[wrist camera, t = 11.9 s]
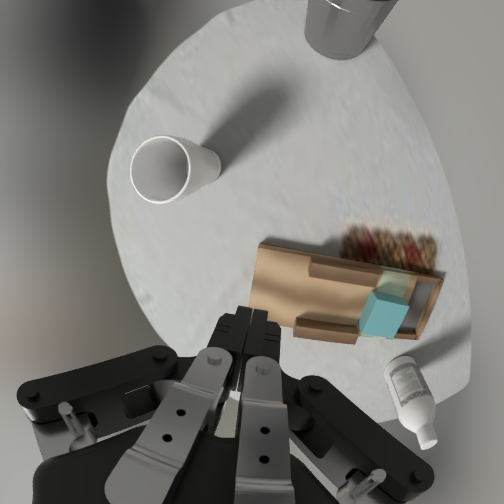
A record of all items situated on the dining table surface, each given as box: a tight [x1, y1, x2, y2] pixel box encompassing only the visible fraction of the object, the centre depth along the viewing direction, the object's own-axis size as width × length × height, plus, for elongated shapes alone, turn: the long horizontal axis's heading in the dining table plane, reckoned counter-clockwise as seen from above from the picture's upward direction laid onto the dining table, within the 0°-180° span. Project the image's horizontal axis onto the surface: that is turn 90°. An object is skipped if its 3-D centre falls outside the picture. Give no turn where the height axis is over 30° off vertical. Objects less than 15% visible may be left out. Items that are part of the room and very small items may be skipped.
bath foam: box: [384, 356, 438, 450], centre depth 35 cm, size 7×7×20 cm
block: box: [357, 290, 409, 339], centre depth 37 cm, size 6×6×3 cm
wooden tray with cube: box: [249, 244, 444, 345], centre depth 39 cm, size 12×32×4 cm, turn 82°
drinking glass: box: [130, 135, 221, 204], centre depth 30 cm, size 7×7×15 cm
